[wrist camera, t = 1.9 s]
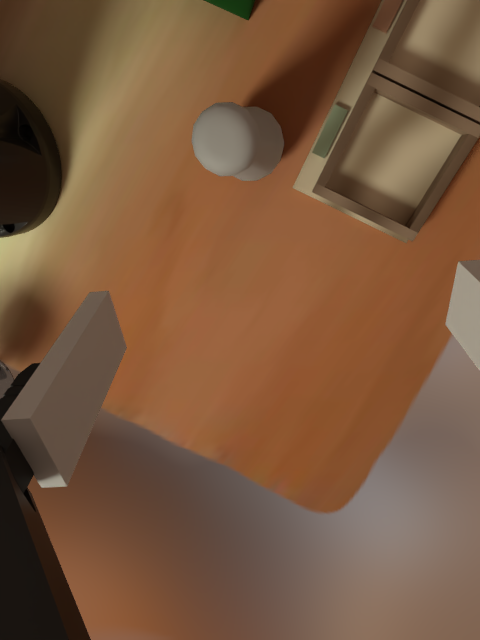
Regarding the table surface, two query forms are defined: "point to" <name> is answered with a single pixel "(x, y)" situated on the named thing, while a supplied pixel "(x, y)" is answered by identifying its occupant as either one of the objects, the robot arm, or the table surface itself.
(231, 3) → the milk carton
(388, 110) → the socket board
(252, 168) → the salt shaker
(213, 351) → the table surface
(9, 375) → the wine glass
